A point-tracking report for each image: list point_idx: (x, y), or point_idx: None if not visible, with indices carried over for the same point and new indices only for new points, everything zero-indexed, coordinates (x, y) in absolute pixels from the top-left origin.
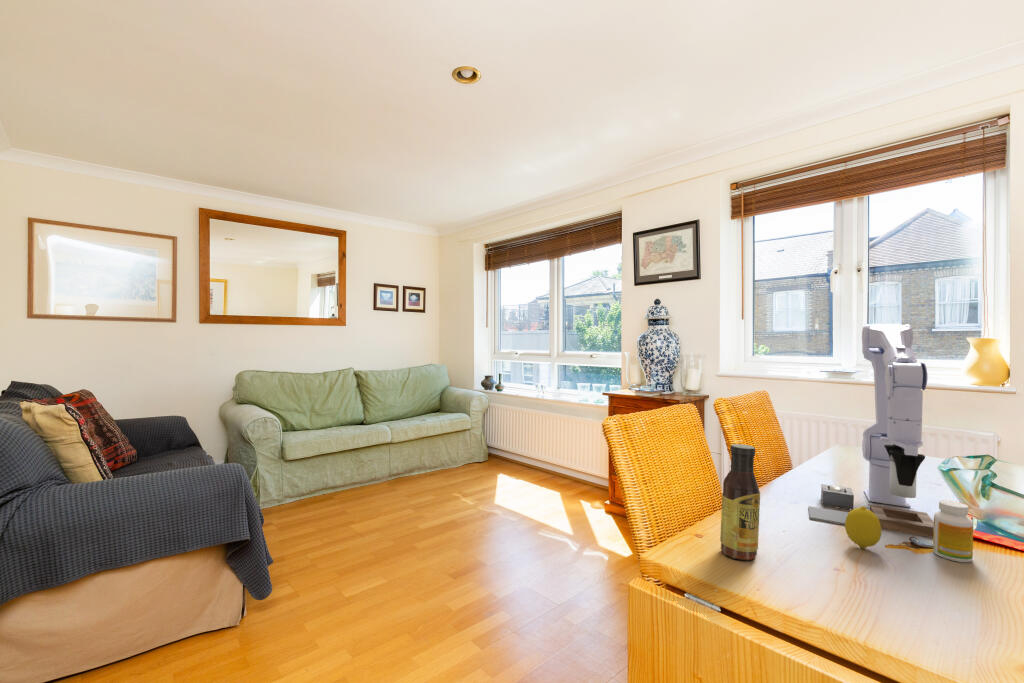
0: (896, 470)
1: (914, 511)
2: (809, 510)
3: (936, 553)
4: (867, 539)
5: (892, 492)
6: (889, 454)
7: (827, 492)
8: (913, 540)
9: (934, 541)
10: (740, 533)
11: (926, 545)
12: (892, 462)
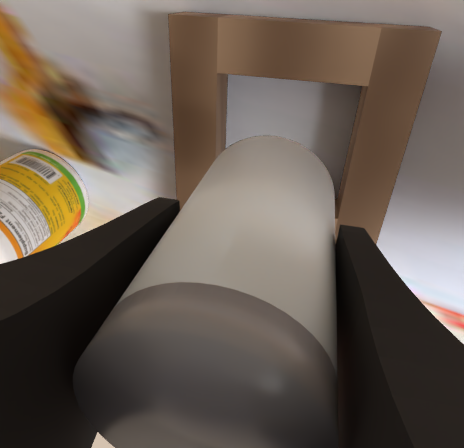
0: (109, 239)
1: (373, 222)
2: None
3: (21, 151)
4: None
5: (237, 146)
6: (377, 370)
7: None
8: (118, 123)
9: (5, 162)
10: None
11: (95, 149)
12: (166, 276)
